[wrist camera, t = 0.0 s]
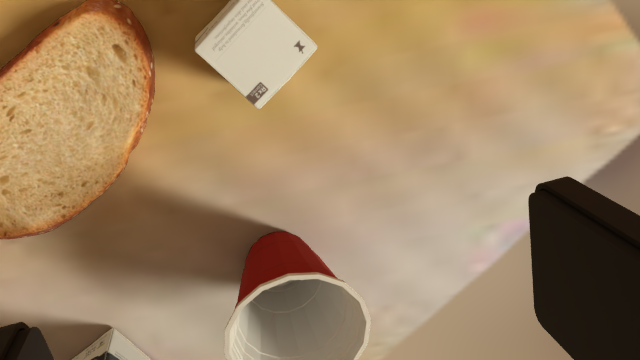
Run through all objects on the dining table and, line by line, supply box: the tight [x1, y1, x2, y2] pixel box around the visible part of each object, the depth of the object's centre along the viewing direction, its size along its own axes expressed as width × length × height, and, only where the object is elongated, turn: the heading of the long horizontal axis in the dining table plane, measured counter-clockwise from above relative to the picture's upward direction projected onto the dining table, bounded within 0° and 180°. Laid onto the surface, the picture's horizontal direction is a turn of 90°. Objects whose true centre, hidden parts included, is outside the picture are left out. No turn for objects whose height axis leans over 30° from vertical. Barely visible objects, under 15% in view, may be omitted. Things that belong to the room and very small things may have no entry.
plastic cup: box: [224, 232, 371, 360], centre depth 46 cm, size 11×11×12 cm
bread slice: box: [0, 0, 155, 239], centre depth 42 cm, size 18×18×4 cm
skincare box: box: [195, 0, 317, 109], centre depth 41 cm, size 6×6×7 cm
